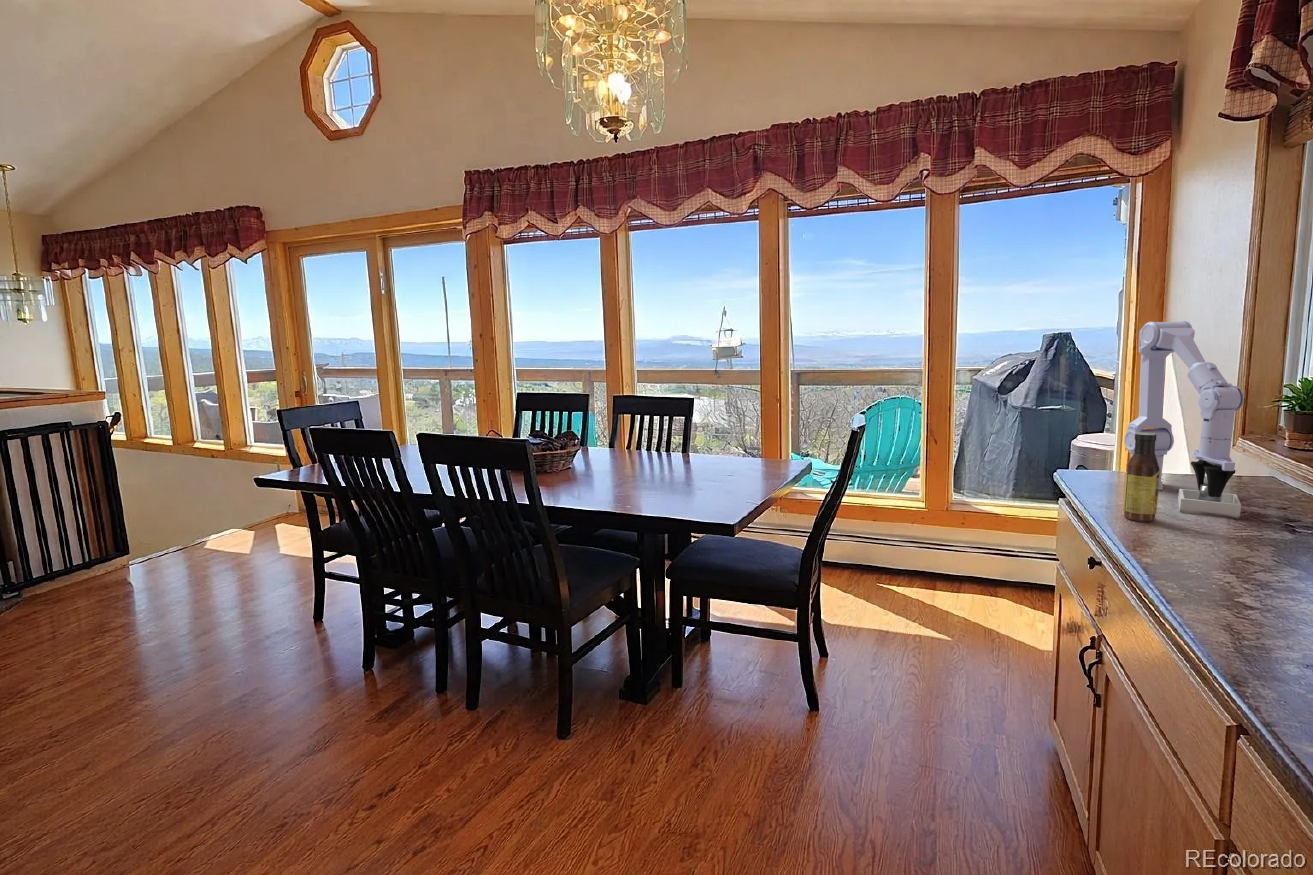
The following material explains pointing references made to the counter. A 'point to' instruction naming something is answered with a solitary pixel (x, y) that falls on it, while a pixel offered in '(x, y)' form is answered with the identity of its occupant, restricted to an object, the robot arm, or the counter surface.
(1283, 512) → the counter surface
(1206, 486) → the silver metal knob
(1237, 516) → the bin
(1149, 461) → the sauce bottle
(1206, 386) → the robot arm
